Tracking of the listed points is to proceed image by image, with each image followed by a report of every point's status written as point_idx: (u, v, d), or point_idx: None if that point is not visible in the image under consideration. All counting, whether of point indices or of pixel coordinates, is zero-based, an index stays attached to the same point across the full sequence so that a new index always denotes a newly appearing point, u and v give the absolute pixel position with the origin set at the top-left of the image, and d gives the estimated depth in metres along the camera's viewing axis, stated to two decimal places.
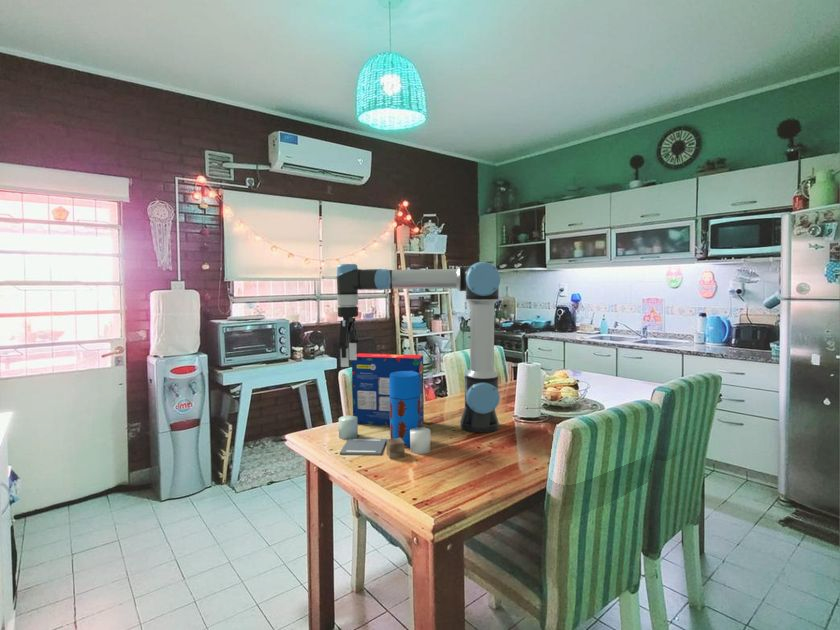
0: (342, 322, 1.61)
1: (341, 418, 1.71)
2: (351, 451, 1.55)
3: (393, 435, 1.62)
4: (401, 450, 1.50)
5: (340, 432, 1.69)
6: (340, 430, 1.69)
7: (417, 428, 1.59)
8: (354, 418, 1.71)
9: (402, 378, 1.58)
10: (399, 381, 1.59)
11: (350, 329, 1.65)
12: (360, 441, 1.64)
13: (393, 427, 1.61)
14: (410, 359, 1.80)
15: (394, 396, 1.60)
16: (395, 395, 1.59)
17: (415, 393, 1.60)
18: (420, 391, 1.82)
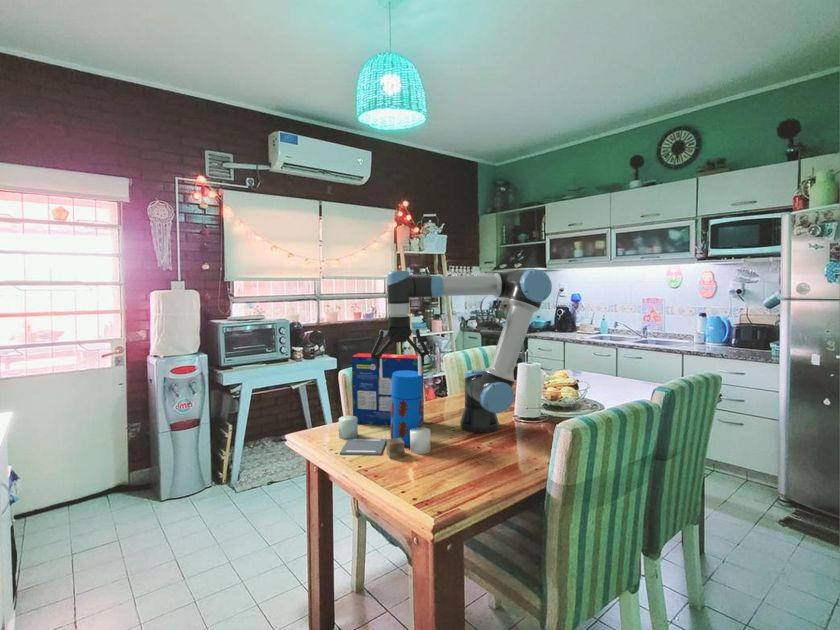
0: None
1: (341, 418, 1.71)
2: (351, 451, 1.55)
3: (393, 434, 1.61)
4: (401, 450, 1.50)
5: (340, 432, 1.69)
6: (340, 430, 1.69)
7: (417, 428, 1.59)
8: (354, 418, 1.71)
9: (405, 378, 1.57)
10: (401, 381, 1.58)
11: (389, 340, 1.56)
12: (360, 441, 1.64)
13: (394, 426, 1.61)
14: (410, 359, 1.80)
15: (396, 396, 1.59)
16: (398, 395, 1.59)
17: (417, 394, 1.60)
18: None
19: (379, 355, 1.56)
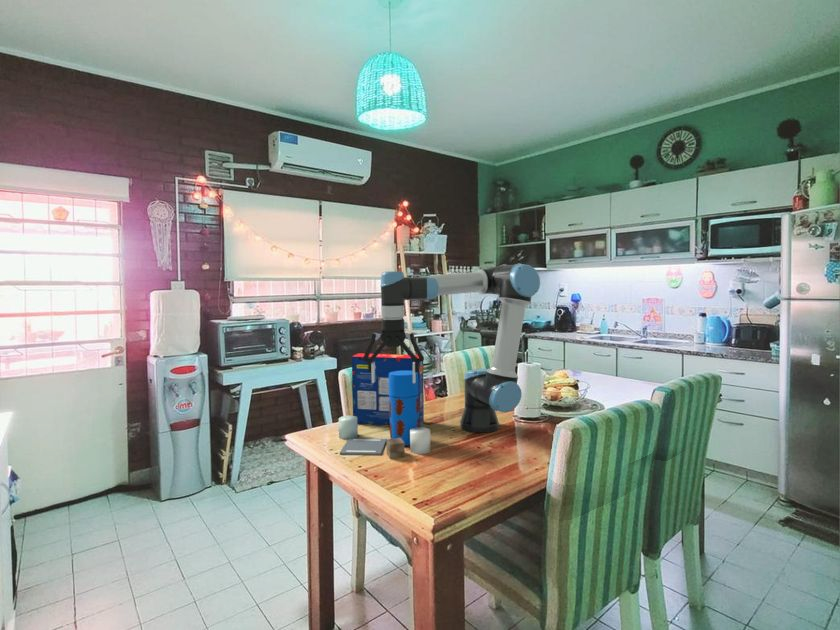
0: None
1: (341, 418, 1.71)
2: (351, 451, 1.55)
3: (392, 434, 1.62)
4: (401, 450, 1.50)
5: (340, 432, 1.69)
6: (340, 430, 1.69)
7: (417, 428, 1.59)
8: (354, 418, 1.71)
9: (400, 376, 1.60)
10: (396, 379, 1.60)
11: (381, 344, 1.49)
12: (360, 441, 1.64)
13: (392, 426, 1.62)
14: (410, 359, 1.80)
15: (392, 395, 1.61)
16: (393, 394, 1.61)
17: (413, 392, 1.61)
18: (420, 391, 1.82)
19: (371, 359, 1.50)
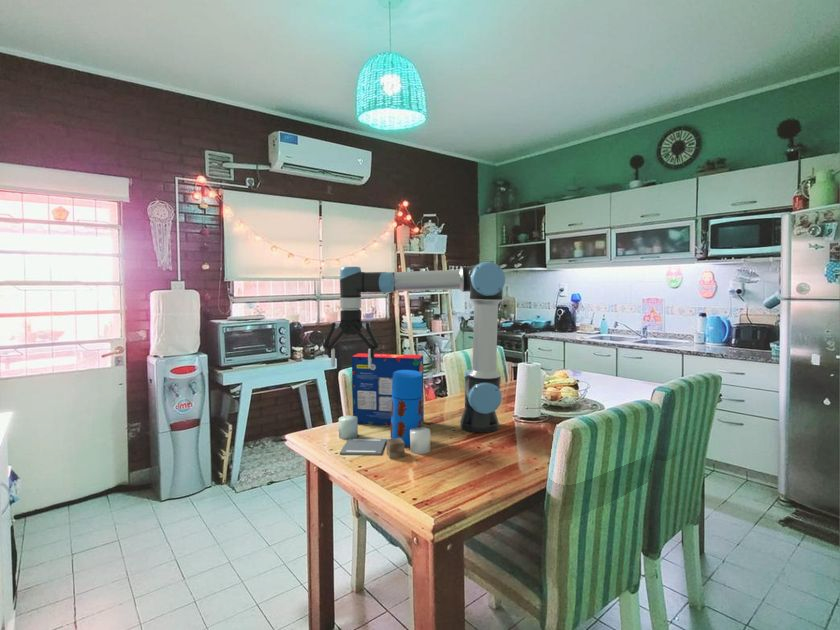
0: None
1: (341, 418, 1.71)
2: (351, 451, 1.55)
3: (392, 433, 1.62)
4: (401, 450, 1.50)
5: (340, 432, 1.69)
6: (340, 430, 1.69)
7: (417, 428, 1.59)
8: (354, 418, 1.71)
9: (404, 379, 1.57)
10: (400, 381, 1.57)
11: (340, 332, 1.65)
12: (360, 441, 1.64)
13: (393, 426, 1.62)
14: (410, 359, 1.80)
15: (395, 395, 1.59)
16: (396, 395, 1.59)
17: (416, 394, 1.59)
18: None
19: (330, 346, 1.66)
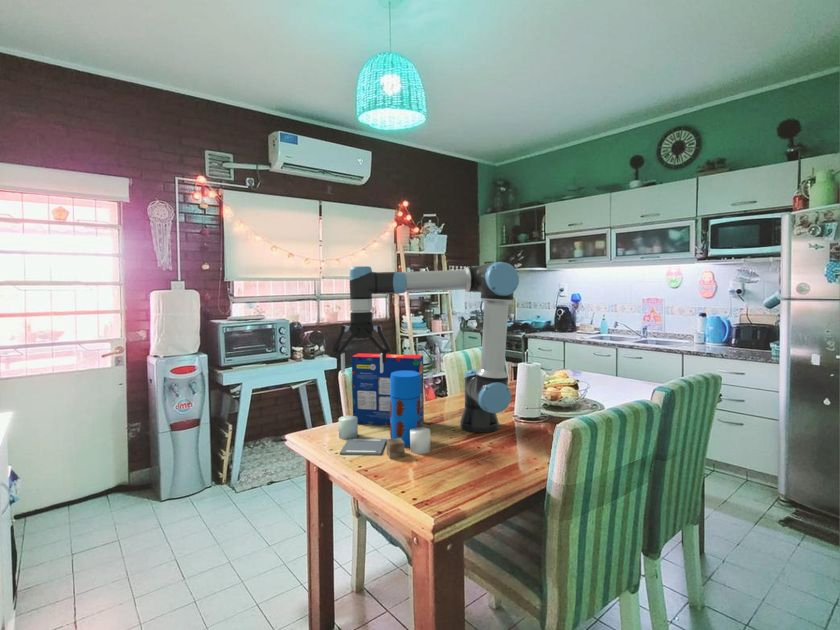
0: None
1: (341, 418, 1.71)
2: (351, 451, 1.55)
3: (392, 434, 1.62)
4: (401, 450, 1.50)
5: (340, 432, 1.69)
6: (340, 430, 1.69)
7: (417, 428, 1.59)
8: (354, 418, 1.71)
9: (401, 378, 1.58)
10: (398, 380, 1.59)
11: None
12: (360, 441, 1.64)
13: (392, 426, 1.62)
14: (410, 359, 1.80)
15: (393, 395, 1.60)
16: (394, 395, 1.60)
17: (414, 393, 1.60)
18: (420, 391, 1.82)
19: (340, 350, 1.57)
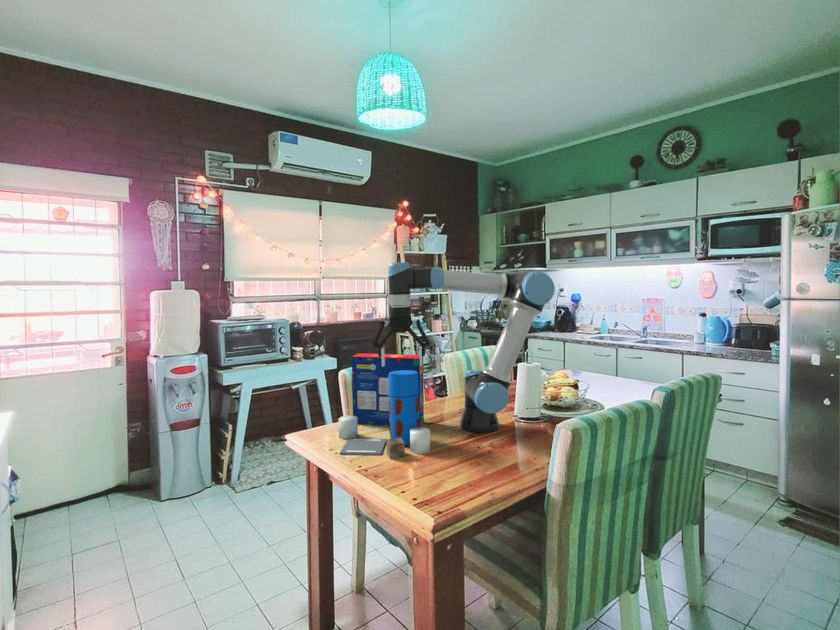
0: None
1: (341, 418, 1.71)
2: (351, 451, 1.55)
3: (391, 433, 1.63)
4: (401, 450, 1.50)
5: (340, 432, 1.69)
6: (340, 430, 1.69)
7: (417, 428, 1.59)
8: (354, 418, 1.71)
9: (399, 376, 1.60)
10: (395, 379, 1.60)
11: (390, 330, 1.60)
12: (360, 441, 1.64)
13: (391, 425, 1.62)
14: (410, 359, 1.80)
15: (392, 394, 1.61)
16: (393, 393, 1.61)
17: (412, 391, 1.61)
18: (420, 391, 1.82)
19: (380, 344, 1.61)
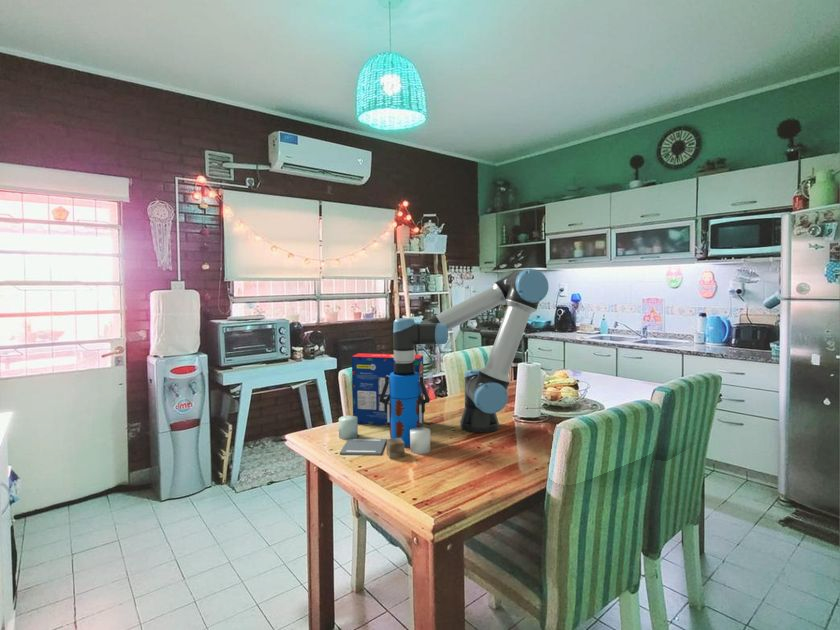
0: None
1: (341, 418, 1.71)
2: (351, 451, 1.55)
3: (392, 434, 1.63)
4: (401, 450, 1.50)
5: (340, 432, 1.69)
6: (340, 430, 1.69)
7: (417, 428, 1.59)
8: (354, 418, 1.71)
9: (400, 378, 1.59)
10: (396, 380, 1.59)
11: None
12: (360, 441, 1.64)
13: (392, 426, 1.62)
14: None
15: (392, 395, 1.61)
16: (393, 394, 1.60)
17: (413, 393, 1.60)
18: (420, 391, 1.82)
19: (386, 400, 1.63)
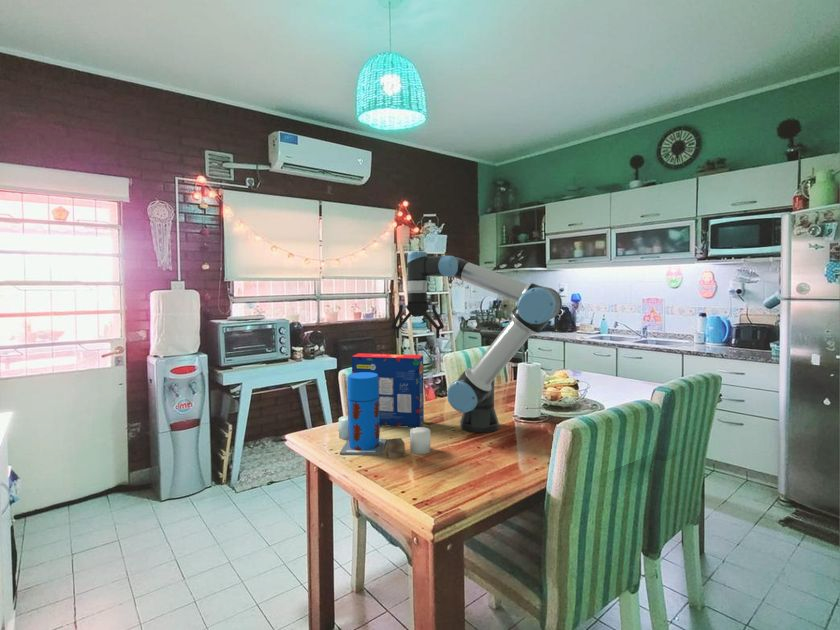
0: None
1: (341, 418, 1.71)
2: (351, 451, 1.55)
3: (350, 438, 1.57)
4: (401, 450, 1.50)
5: (340, 432, 1.69)
6: (340, 430, 1.69)
7: (417, 428, 1.59)
8: None
9: (357, 380, 1.53)
10: (353, 382, 1.54)
11: None
12: None
13: (349, 429, 1.57)
14: (410, 359, 1.80)
15: (350, 398, 1.56)
16: (351, 397, 1.55)
17: (371, 396, 1.55)
18: (420, 391, 1.82)
19: (398, 327, 1.75)
